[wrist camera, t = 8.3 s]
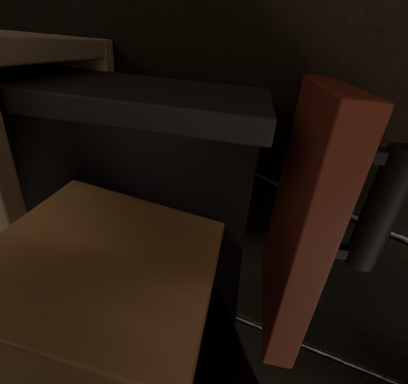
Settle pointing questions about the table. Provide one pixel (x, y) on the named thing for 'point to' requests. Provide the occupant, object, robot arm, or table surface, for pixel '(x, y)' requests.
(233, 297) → the drawer
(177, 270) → the block
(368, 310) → the table surface
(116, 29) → the table surface
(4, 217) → the cabinet
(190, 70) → the table surface
